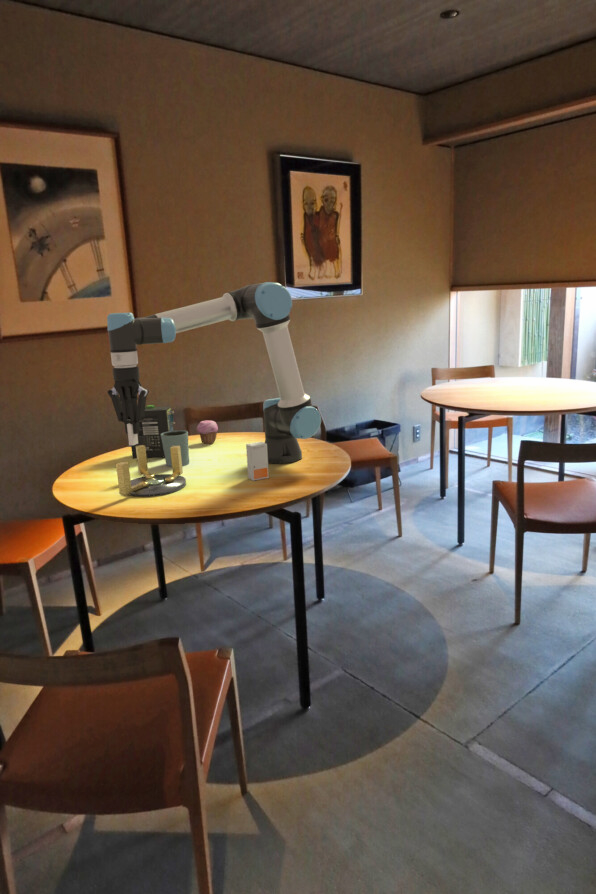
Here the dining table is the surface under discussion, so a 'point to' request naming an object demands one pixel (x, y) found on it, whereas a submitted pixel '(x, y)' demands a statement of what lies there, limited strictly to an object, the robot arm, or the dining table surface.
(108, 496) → the dining table surface
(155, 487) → the levelling plate
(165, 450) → the grey cup
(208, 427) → the cupcake
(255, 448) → the skincare box
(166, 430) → the router
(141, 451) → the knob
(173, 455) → the tan l-shaped bracket
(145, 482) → the ball-tipped golden bracket
